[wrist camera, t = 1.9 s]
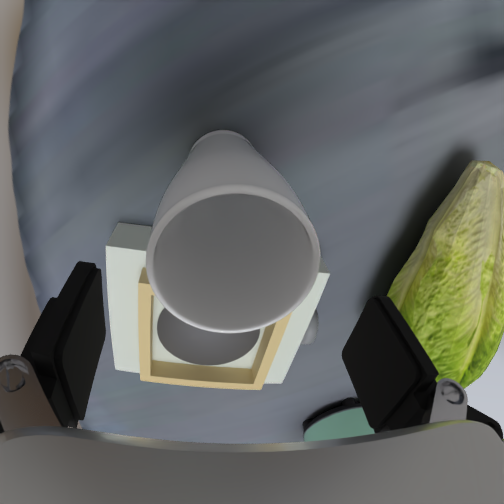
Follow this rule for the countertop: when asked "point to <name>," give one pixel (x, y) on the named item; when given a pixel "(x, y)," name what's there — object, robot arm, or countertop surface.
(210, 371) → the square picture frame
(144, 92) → the countertop surface
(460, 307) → the lettuce
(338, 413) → the green blender
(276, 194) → the drinking glass
